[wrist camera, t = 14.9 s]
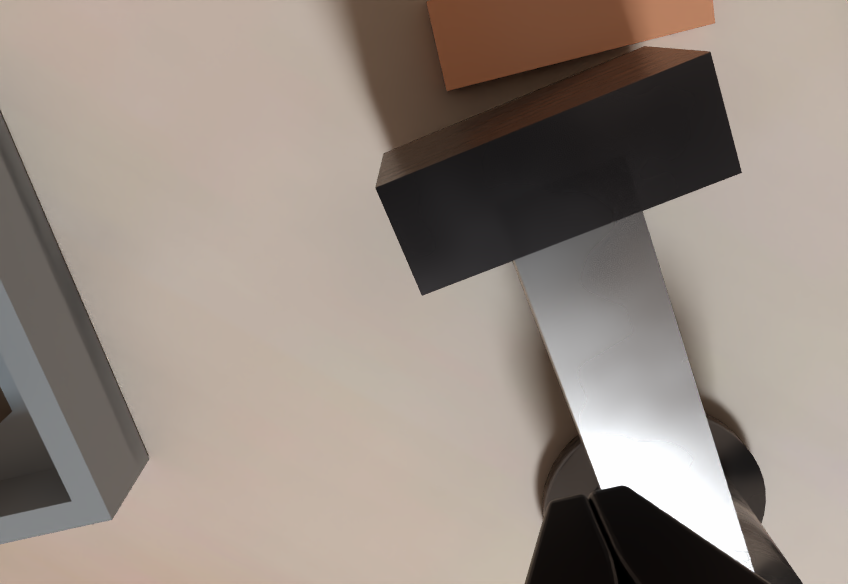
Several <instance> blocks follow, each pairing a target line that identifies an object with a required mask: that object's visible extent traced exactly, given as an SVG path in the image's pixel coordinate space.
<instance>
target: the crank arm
mask: <svg viewBox="0 0 848 584" xmlns="http://www.w3.org/2000/svg"><path fill="white" fill-rule="evenodd" d="M740 173H742V172H741V168H740V164H739V160H738V156H737V152H736V149H735V145H734V141H733V137H732V133H731V129H730V125H729V121H728V118H727V114H726V110H725V106H724V102H723V98H722V94H721V91H720V87H719V83H718V79H717V75H716V71H715V67H714V64H713V60H712V56H711V52H707V51H695V50H683V49H671V48H659V47H647V46H644V47H641V48H639V49H636V50H634V51H632V52H629V53H627V54H624V55H622V56H619V57H617V58H614V59H612V60H610V61H607V62H605V63H602V64H600V65H597V66H595V67H593V68H590V69H588V70H585V71H583V72H580V73H578V74H576V75H573V76H571V77H568V78H566V79H563V80H561V81H559V82H556V83H554V84H551V85H549V86H546V87H544V88H541V89H539V90H537V91H534V92H532V93H529V94H527V95H524V96H522V97H520V98H517V99H515V100H512V101H510V102H507V103H505V104H503V105H500V106H498V107H495V108H493V109H490V110H488V111H486V112H483V113H481V114H478V115H476V116H473V117H471V118H468V119H466V120H464V121H461V122H459V123H456V124H454V125H451V126H449V127H447V128H444V129H442V130H439V131H437V132H434V133H432V134H430V135H427V136H425V137H422V138H420V139H417V140H415V141H413V142H410V143H408V144H405V145H403V146H400V147H398V148H395V149H393V150H391V151H388V152H386V153H384V154H383V158H382V162H381V167H380V171H379V175H378V179H377V183H376V187H375V188H376V190H377V192H378V195H379V197H380V199H381V202H382V204H383V206H384V209H385V211H386V213H387V216H388V218H389V220H390V223H391V225H392V227H393V230H394V232H395V234H396V236H397V239H398V241H399V243H400V246H401V248H402V250H403V253H404V255H405V257H406V260H407V262H408V264H409V267H410V269H411V271H412V273H413V276H414V278H415V280H416V283H417V285H418V287H419V290H420V292H421V294H422V295H425V294H428V293H430V292H433V291H435V290H438V289H441V288H443V287H446V286H448V285H451V284H454V283H456V282H459V281H461V280H464V279H467V278H469V277H472V276H474V275H477V274H480V273H482V272H485V271H487V270H490V269H493V268H495V267H498V266H500V265H503V264H506V263H508V262H511V261H513V264H514V267H515V269H516V272H517V274H518V277H519V280H520V282H521V285H522V288H523V290H524V293H525V295H526V298H527V301H528V303H529V306H530V309H531V311H532V314H533V316H534V319H535V322H536V324H537V327H538V330H539V332H540V335H541V337H542V340H543V343H544V345H545V348H546V351H547V353H548V356H549V358H550V361H551V364H552V366H553V369H554V372H555V374H556V377H557V379H558V382H559V385H560V387H561V390H562V393H563V395H564V398H565V400H566V403H567V406H568V408H569V411H570V414H571V416H572V419H573V421H574V424H575V427H576V429H577V432H578V435H579V437H580V440H581V442H582V445H583V448H584V450H585V453H586V456H587V458H588V461H589V463H590V466H591V469H592V471H593V474H594V477H595V479H596V482H597V484H598V487H597V488H596V489H595V490H594V491H596V490H601V489H606V488H610V487H615V486H620V485H624V486H628V487H629V488H631V489H632V490H634V491H635V492H637V493H638V494H640V495H641V496H643V497H644V498H646V499H647V500H649V501H650V502H652V503H653V504H655V505H656V506H657V507H659V508H660V509H662V510H663V511H665V512H666V513H668V514H669V515H671V516H672V517H674V518H675V519H677V520H678V521H680V522H681V523H682V524H684V525H685V526H687V527H688V528H690V529H691V530H693V531H694V532H696V533H697V534H699V535H700V536H702V537H703V538H705V539H706V540H707V541H709V542H710V543H712V544H713V545H715V546H716V547H718V548H719V549H721V550H722V551H724V552H725V553H727V554H728V555H730V556H731V557H732V558H734V559H735V560H737V561H738V562H740V563H741V564H743V565H744V566H746V567H747V568H749V569H750V570H752V571H753V572H755V573H756V574H757V575H759V576H760V577H762V578H763V579H765V580H766V581H768V582H769V583H771V584H803V583H802V582H801V580H800V579H799V577H798V576H797V575H796V573H795V572H794V570H793V569H792V567H791V566H790V565H789V563H788V562H787V560H786V559H785V557H784V556H783V554H782V553H781V552H780V550H779V549H778V547H777V546H776V544H775V543H774V542H773V540H772V539H771V537H770V536H769V534H768V533H767V532H766V530H765V529H764V527H763V526H762V524H761V523H760V522H759V520H758V519H757V517H756V516H755V514H754V513H753V512H752V510H751V509H750V507H749V506H748V504H747V503H746V502H745V500H744V499H743V497H742V496H741V494H740V493H739V492H738V490H737V489H736V487H735V486H734V484H733V483H732V482H731V480H730V479H729V478H728V477H727V476H726V475H725V474H724V473H723V469H722V466H721V463H720V460H719V457H718V453H717V450H716V447H715V444H714V440H713V437H712V434H711V431H710V428H709V424H708V421H707V418H706V415H705V411H704V408H703V405H702V402H701V399H700V395H699V392H698V389H697V386H696V382H695V379H694V376H693V373H692V370H691V366H690V363H689V360H688V357H687V353H686V350H685V347H684V344H683V341H682V337H681V334H680V331H679V328H678V324H677V321H676V318H675V315H674V312H673V308H672V305H671V302H670V299H669V295H668V292H667V289H666V286H665V283H664V279H663V276H662V273H661V270H660V266H659V263H658V260H657V257H656V254H655V250H654V247H653V244H652V241H651V237H650V234H649V231H648V228H647V225H646V221H645V218H644V215H643V212H642V211H644V210H646V209H649V208H651V207H654V206H657V205H659V204H662V203H664V202H667V201H670V200H672V199H675V198H677V197H680V196H683V195H685V194H688V193H690V192H693V191H696V190H698V189H701V188H703V187H706V186H709V185H711V184H714V183H716V182H719V181H722V180H724V179H727V178H729V177H732V176H735V175H737V174H740Z"/></svg>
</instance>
